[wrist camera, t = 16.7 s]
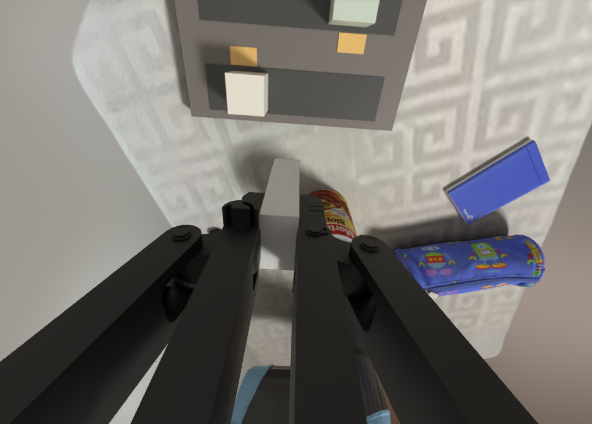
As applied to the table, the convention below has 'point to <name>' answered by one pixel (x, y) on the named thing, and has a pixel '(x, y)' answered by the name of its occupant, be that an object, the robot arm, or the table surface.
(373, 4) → the sage tab
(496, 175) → the hard drive
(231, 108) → the cream tab
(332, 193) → the canned food
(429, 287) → the pencil case
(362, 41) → the switch panel
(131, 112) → the table surface
